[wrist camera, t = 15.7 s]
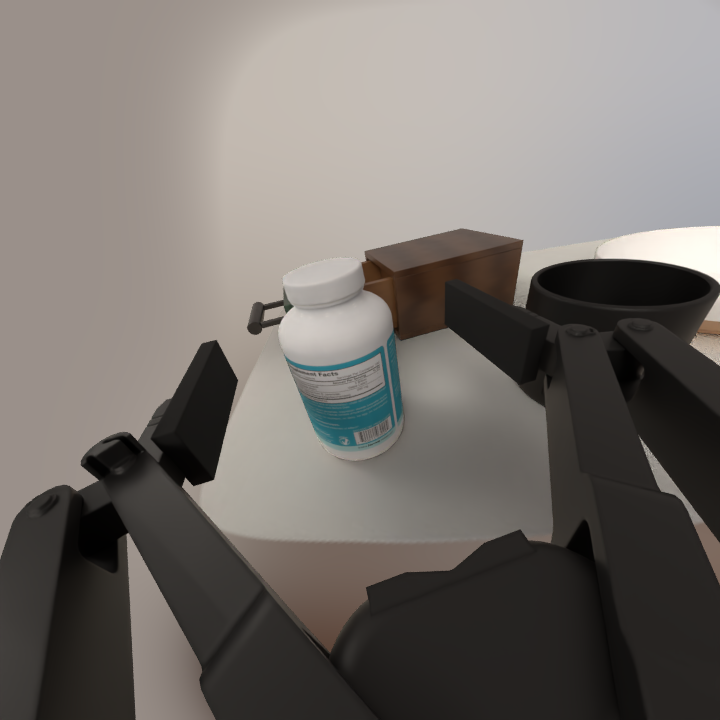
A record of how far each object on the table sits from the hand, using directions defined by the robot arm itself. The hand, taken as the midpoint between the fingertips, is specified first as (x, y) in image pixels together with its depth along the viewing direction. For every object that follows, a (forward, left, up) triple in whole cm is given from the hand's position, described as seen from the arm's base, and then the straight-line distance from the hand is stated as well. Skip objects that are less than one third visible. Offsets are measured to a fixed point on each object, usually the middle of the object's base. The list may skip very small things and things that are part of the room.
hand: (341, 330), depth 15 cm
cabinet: (+16, +20, -10) cm, 28 cm away
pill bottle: (0, +2, -11) cm, 11 cm away
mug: (+20, 0, -11) cm, 23 cm away
